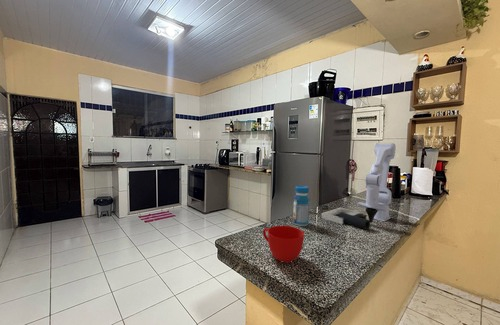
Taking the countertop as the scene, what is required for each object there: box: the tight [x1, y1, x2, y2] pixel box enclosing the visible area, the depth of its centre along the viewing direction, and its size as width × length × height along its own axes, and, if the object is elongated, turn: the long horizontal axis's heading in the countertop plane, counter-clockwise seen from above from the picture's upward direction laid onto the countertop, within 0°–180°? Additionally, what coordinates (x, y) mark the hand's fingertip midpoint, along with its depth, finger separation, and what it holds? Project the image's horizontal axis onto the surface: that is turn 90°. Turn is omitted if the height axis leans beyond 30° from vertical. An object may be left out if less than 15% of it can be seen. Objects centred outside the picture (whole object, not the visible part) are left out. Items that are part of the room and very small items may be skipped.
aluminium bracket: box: [321, 207, 361, 225], centre depth 131 cm, size 21×13×3 cm, turn 129°
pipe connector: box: [337, 212, 371, 231], centre depth 120 cm, size 12×5×15 cm
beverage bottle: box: [292, 185, 311, 227], centre depth 118 cm, size 8×8×20 cm
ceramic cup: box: [262, 225, 305, 263], centre depth 83 cm, size 13×17×10 cm
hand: (371, 222), depth 118 cm, fingers closed
